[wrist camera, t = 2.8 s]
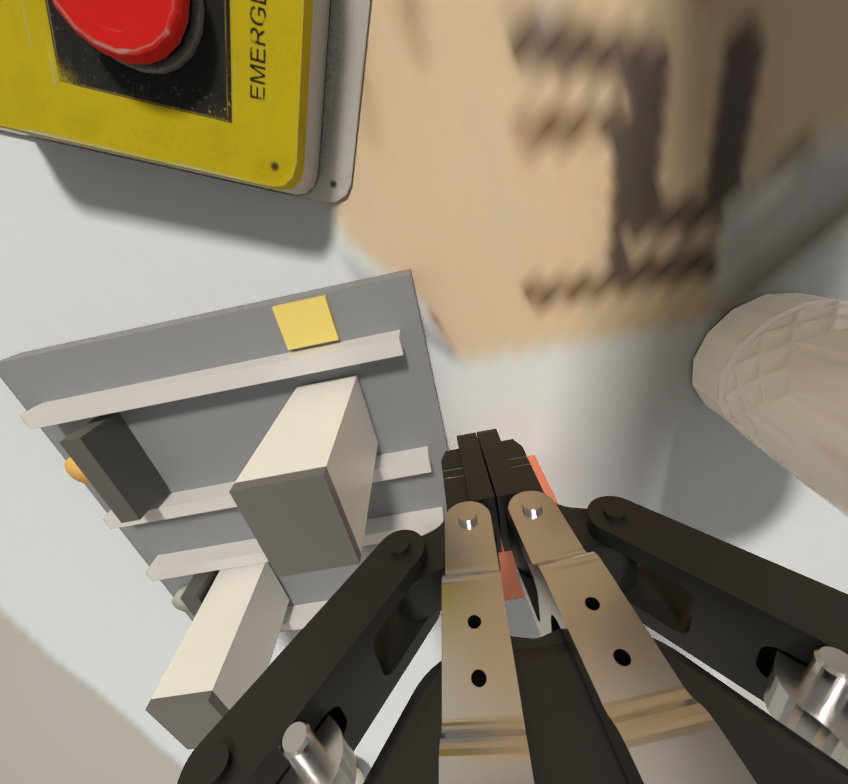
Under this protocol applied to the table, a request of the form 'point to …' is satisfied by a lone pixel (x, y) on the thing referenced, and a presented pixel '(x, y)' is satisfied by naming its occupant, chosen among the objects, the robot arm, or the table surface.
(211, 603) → the block
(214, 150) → the emergency button
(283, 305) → the board
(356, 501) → the off-white rectangular block
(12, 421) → the table surface
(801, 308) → the white cup
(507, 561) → the cap
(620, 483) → the table surface
